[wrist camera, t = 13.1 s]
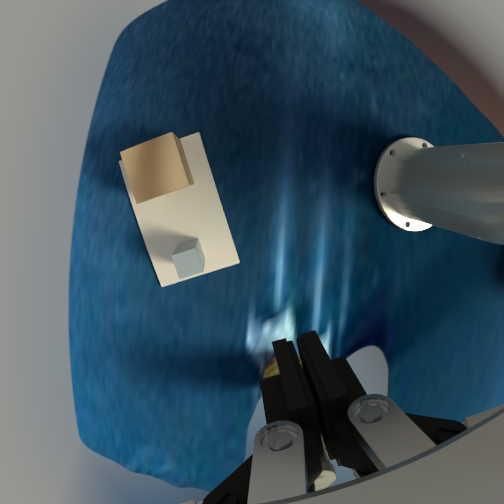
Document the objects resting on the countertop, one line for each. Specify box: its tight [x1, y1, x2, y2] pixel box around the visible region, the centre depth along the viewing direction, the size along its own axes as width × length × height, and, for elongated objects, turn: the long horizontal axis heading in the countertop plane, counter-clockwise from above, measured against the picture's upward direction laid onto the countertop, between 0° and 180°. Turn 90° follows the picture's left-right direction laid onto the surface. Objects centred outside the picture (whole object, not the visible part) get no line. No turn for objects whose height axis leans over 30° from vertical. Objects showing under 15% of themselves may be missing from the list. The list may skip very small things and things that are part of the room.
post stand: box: [119, 132, 240, 287], centre depth 34 cm, size 10×16×6 cm, turn 17°
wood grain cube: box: [120, 132, 194, 204], centre depth 32 cm, size 5×5×7 cm
